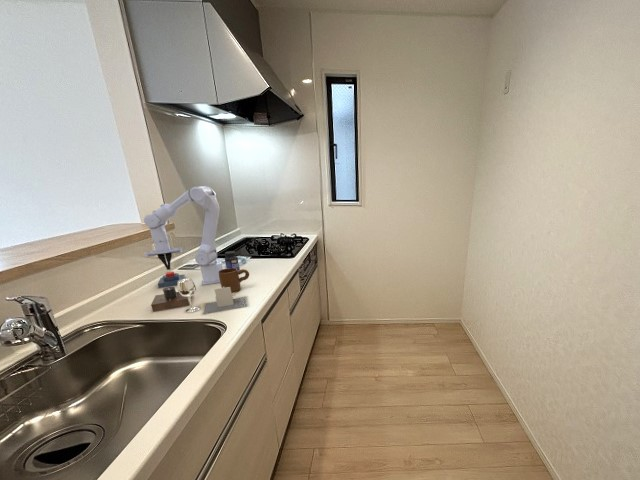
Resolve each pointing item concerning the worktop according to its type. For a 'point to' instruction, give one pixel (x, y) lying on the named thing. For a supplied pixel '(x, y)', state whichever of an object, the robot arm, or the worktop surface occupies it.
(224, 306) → the architectural model
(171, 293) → the knob
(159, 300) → the panel
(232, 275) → the mug
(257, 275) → the worktop surface
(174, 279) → the button box
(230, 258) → the pill bottle
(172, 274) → the button
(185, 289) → the wineglass
